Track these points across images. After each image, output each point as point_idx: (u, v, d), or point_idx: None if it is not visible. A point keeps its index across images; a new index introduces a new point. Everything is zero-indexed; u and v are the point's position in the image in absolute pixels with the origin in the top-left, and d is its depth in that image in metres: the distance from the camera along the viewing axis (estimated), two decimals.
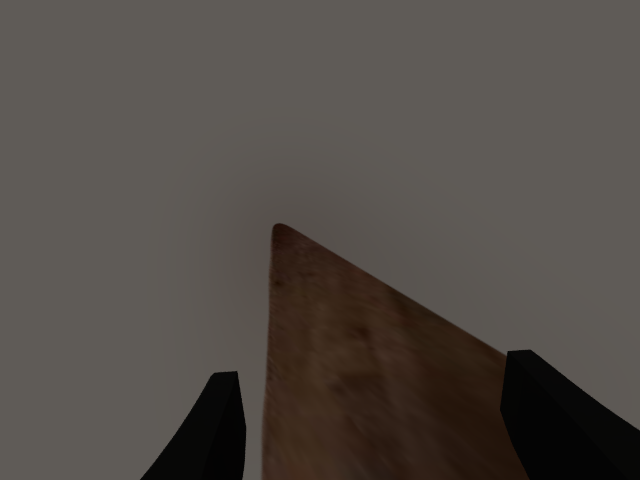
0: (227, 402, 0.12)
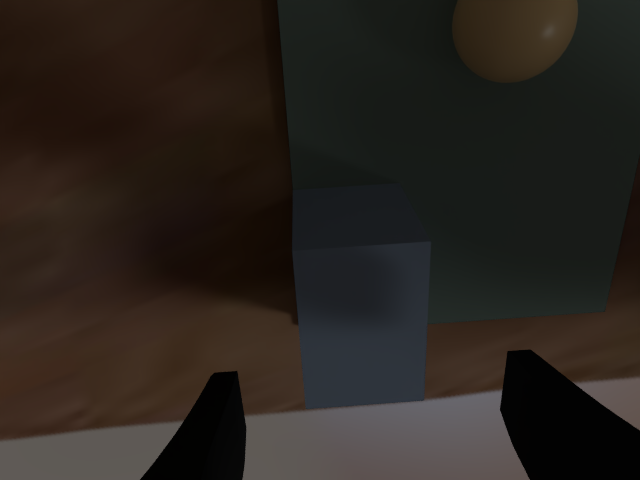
0: (227, 402, 0.12)
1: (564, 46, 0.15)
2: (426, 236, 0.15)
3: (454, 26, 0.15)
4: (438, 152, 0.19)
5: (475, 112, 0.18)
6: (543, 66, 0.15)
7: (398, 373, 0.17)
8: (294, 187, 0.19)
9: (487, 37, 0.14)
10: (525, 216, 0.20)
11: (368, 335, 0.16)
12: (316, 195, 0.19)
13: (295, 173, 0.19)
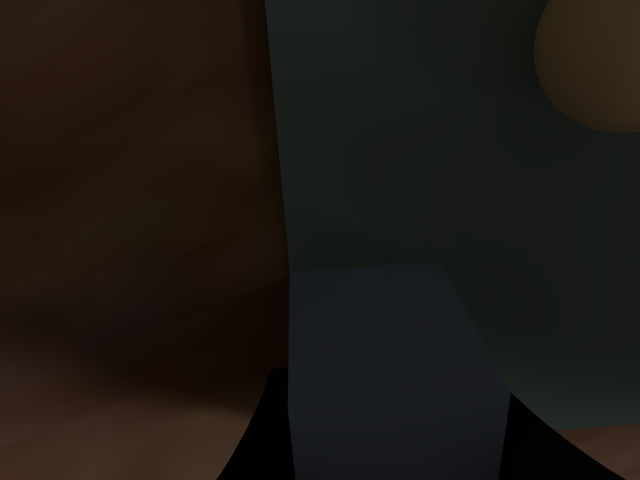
0: None
1: None
2: (500, 380, 0.10)
3: (542, 47, 0.10)
4: (496, 220, 0.13)
5: (552, 166, 0.13)
6: None
7: None
8: (291, 268, 0.14)
9: (607, 67, 0.09)
10: (611, 302, 0.15)
11: None
12: (323, 283, 0.13)
13: (293, 250, 0.13)
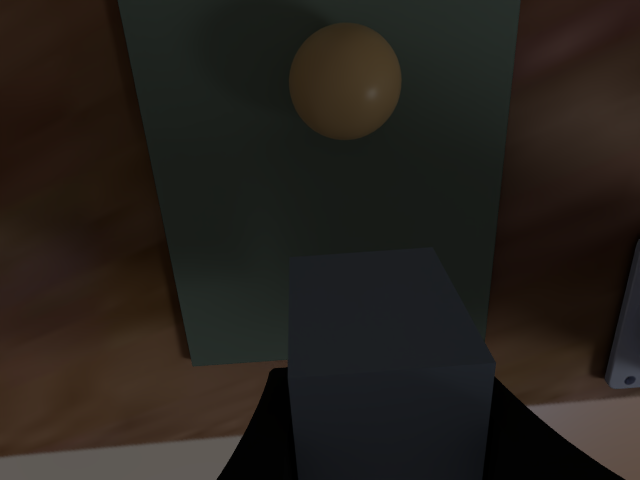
0: None
1: (386, 109, 0.15)
2: (487, 351, 0.10)
3: (289, 87, 0.16)
4: (303, 198, 0.20)
5: (334, 161, 0.19)
6: (368, 127, 0.16)
7: None
8: (166, 231, 0.20)
9: (310, 102, 0.15)
10: None
11: None
12: (321, 267, 0.14)
13: (166, 218, 0.20)
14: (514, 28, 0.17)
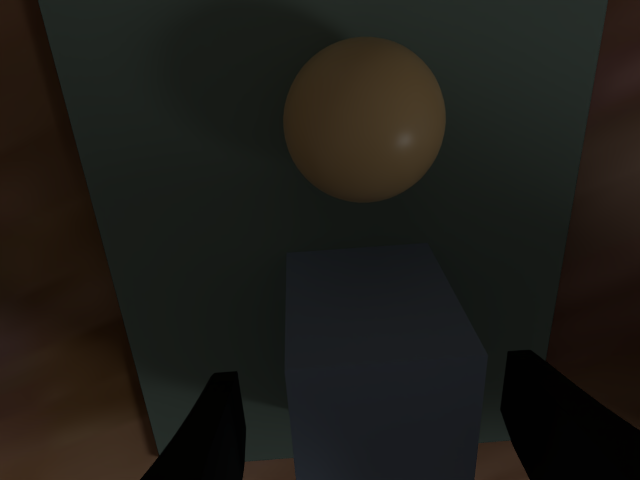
0: (227, 402, 0.12)
1: (425, 164, 0.11)
2: (479, 344, 0.10)
3: None
4: None
5: (345, 219, 0.14)
6: (398, 189, 0.11)
7: None
8: (122, 308, 0.15)
9: (313, 155, 0.10)
10: None
11: (392, 474, 0.11)
12: (318, 262, 0.14)
13: (120, 292, 0.15)
14: (596, 42, 0.12)
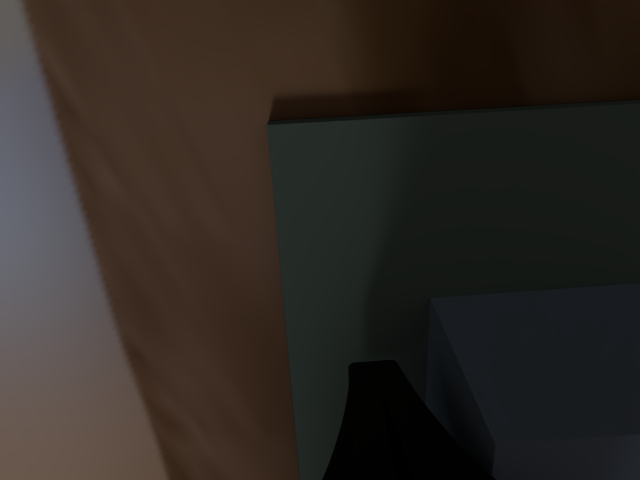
0: (382, 391, 0.12)
1: None
2: None
3: None
4: None
5: None
6: None
7: None
8: (554, 111, 0.12)
9: None
10: None
11: None
12: None
13: (578, 113, 0.12)
14: None
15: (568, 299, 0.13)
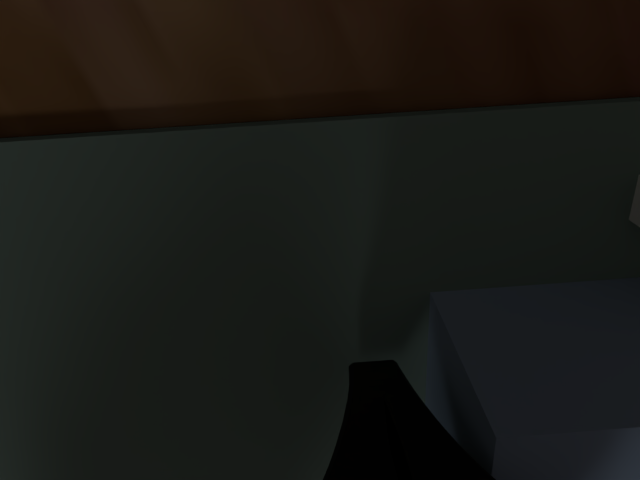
0: (382, 391, 0.12)
1: None
2: None
3: None
4: (212, 328, 0.14)
5: (267, 361, 0.15)
6: None
7: None
8: (134, 136, 0.12)
9: None
10: (136, 432, 0.15)
11: None
12: None
13: (159, 138, 0.12)
14: None
15: (569, 293, 0.13)
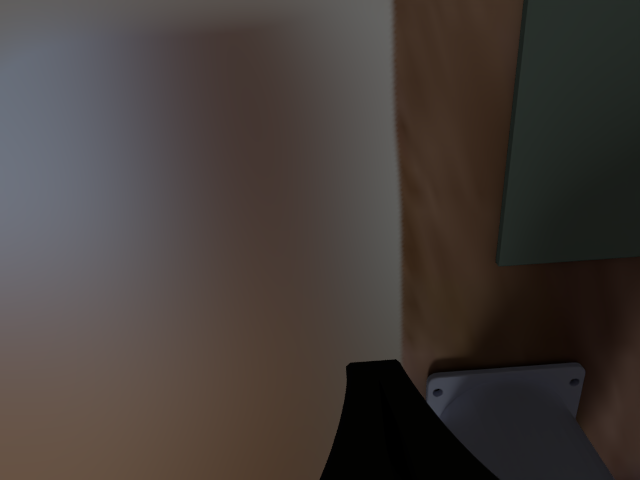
0: (379, 391, 0.12)
1: None
2: None
3: None
4: None
5: None
6: None
7: None
8: None
9: None
10: (621, 174, 0.22)
11: None
12: None
13: None
14: None
15: None
